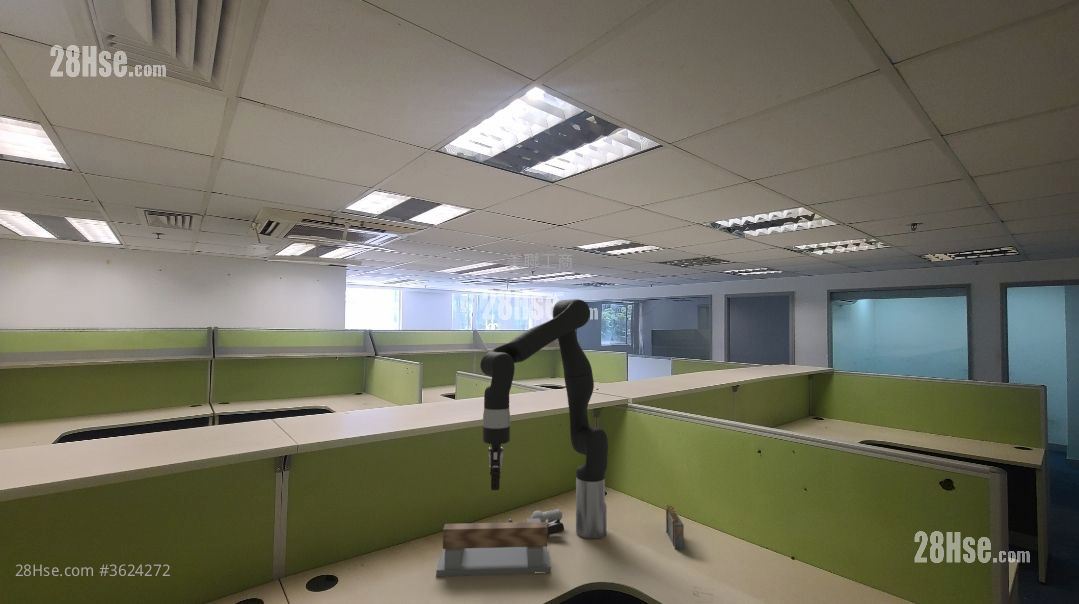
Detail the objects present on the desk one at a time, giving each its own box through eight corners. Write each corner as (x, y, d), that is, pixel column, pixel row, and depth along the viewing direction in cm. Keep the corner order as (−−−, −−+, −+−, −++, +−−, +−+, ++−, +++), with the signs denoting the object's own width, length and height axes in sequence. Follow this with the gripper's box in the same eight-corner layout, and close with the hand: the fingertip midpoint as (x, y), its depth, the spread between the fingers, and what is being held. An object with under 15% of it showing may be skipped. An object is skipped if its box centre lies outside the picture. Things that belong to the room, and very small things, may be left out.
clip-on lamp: (508, 548, 135) (565, 536, 135) (504, 528, 135) (561, 516, 135) (512, 528, 147) (564, 517, 147) (508, 510, 147) (560, 499, 147)
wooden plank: (546, 540, 122) (546, 521, 122) (547, 546, 118) (547, 527, 118) (444, 542, 120) (445, 523, 120) (442, 548, 116) (443, 529, 117)
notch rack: (546, 549, 129) (546, 517, 130) (550, 572, 116) (550, 537, 117) (443, 551, 127) (444, 519, 128) (436, 576, 114) (437, 540, 115)
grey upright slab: (664, 533, 141) (664, 502, 141) (674, 533, 140) (674, 502, 141) (673, 550, 129) (672, 516, 130) (683, 551, 129) (683, 517, 130)
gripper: (510, 429, 114) (509, 493, 113) (509, 419, 129) (509, 475, 127) (481, 430, 114) (480, 494, 113) (484, 419, 128) (483, 476, 127)
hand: (495, 484), depth 120 cm, fingers open, 8 cm apart
